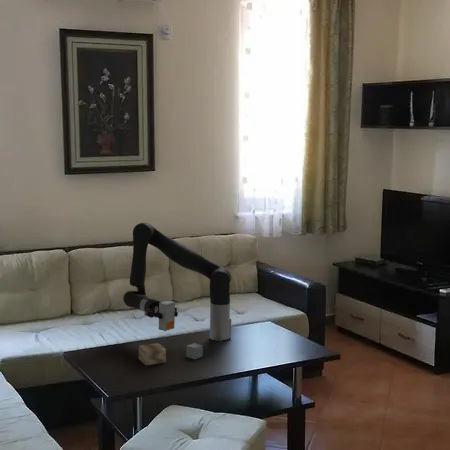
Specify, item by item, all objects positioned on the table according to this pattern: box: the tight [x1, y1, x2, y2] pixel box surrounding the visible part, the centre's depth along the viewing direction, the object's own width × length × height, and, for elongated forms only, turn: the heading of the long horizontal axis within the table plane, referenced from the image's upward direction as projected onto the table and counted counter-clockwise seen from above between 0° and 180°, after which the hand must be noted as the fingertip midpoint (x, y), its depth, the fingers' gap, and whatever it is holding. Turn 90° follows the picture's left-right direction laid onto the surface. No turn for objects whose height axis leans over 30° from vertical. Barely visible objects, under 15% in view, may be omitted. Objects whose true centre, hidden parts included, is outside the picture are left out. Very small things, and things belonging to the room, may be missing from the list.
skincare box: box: [158, 300, 176, 332], centre depth 299 cm, size 6×4×12 cm
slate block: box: [185, 342, 204, 360], centre depth 298 cm, size 5×5×5 cm
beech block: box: [138, 342, 167, 366], centre depth 292 cm, size 9×9×6 cm
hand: (169, 315), depth 297 cm, fingers closed on skincare box, 7 cm apart
